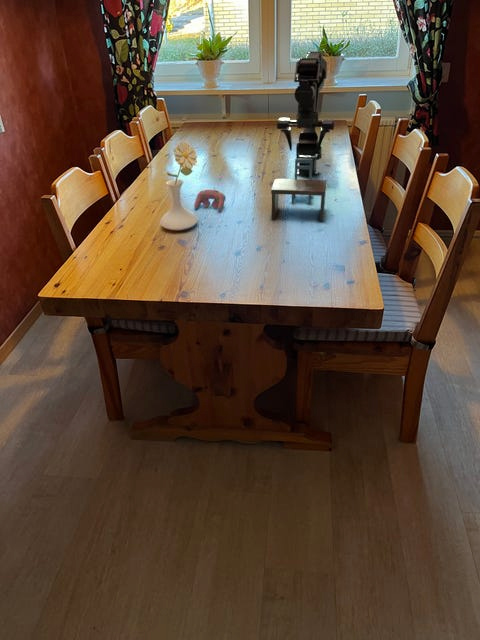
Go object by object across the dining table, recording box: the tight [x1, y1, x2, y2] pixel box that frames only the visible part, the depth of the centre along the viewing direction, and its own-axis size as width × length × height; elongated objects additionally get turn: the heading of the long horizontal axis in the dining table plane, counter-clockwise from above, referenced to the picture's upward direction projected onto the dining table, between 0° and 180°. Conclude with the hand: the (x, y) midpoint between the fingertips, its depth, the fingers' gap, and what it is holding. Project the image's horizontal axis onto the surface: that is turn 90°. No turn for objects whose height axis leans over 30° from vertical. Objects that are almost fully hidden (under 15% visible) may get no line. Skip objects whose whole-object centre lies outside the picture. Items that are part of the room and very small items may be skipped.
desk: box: [270, 178, 328, 223], centre depth 154 cm, size 10×16×10 cm, turn 79°
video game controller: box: [193, 189, 226, 213], centre depth 162 cm, size 10×5×7 cm, turn 71°
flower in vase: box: [159, 140, 198, 231], centre depth 146 cm, size 13×11×25 cm
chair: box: [291, 158, 313, 205], centre depth 163 cm, size 7×6×13 cm
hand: (304, 150), depth 169 cm, fingers open, 9 cm apart
